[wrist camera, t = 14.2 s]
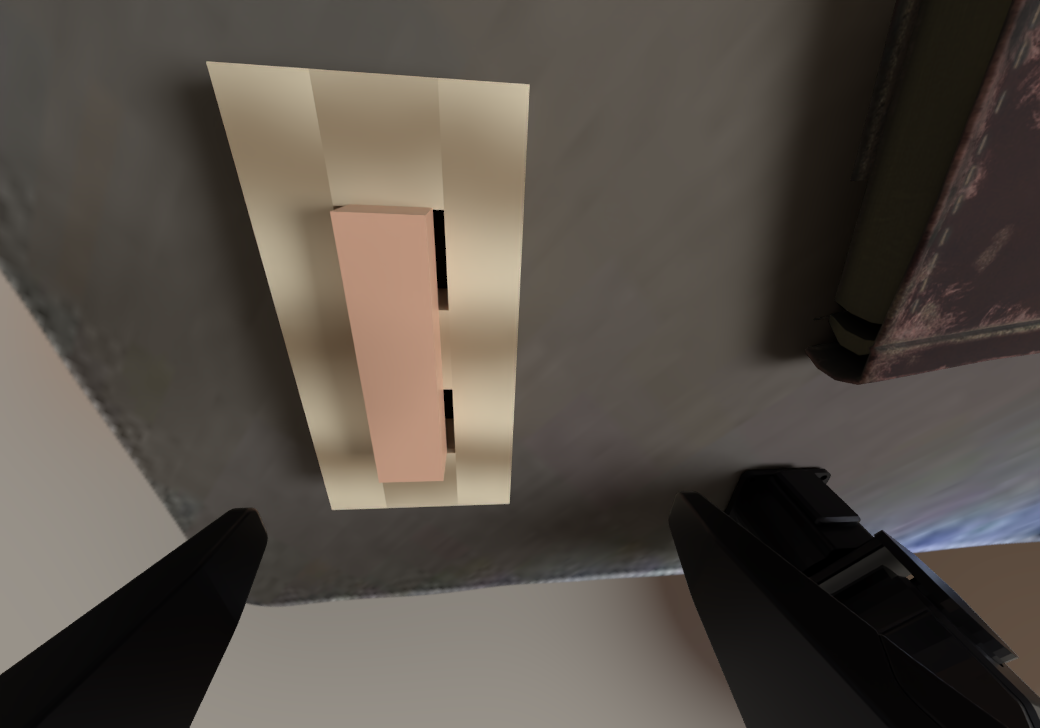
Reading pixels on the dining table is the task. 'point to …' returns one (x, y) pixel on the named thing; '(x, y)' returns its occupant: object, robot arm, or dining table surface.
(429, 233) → the pink rectangular block
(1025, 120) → the diary
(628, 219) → the dining table surface
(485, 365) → the cream two-hole slab
